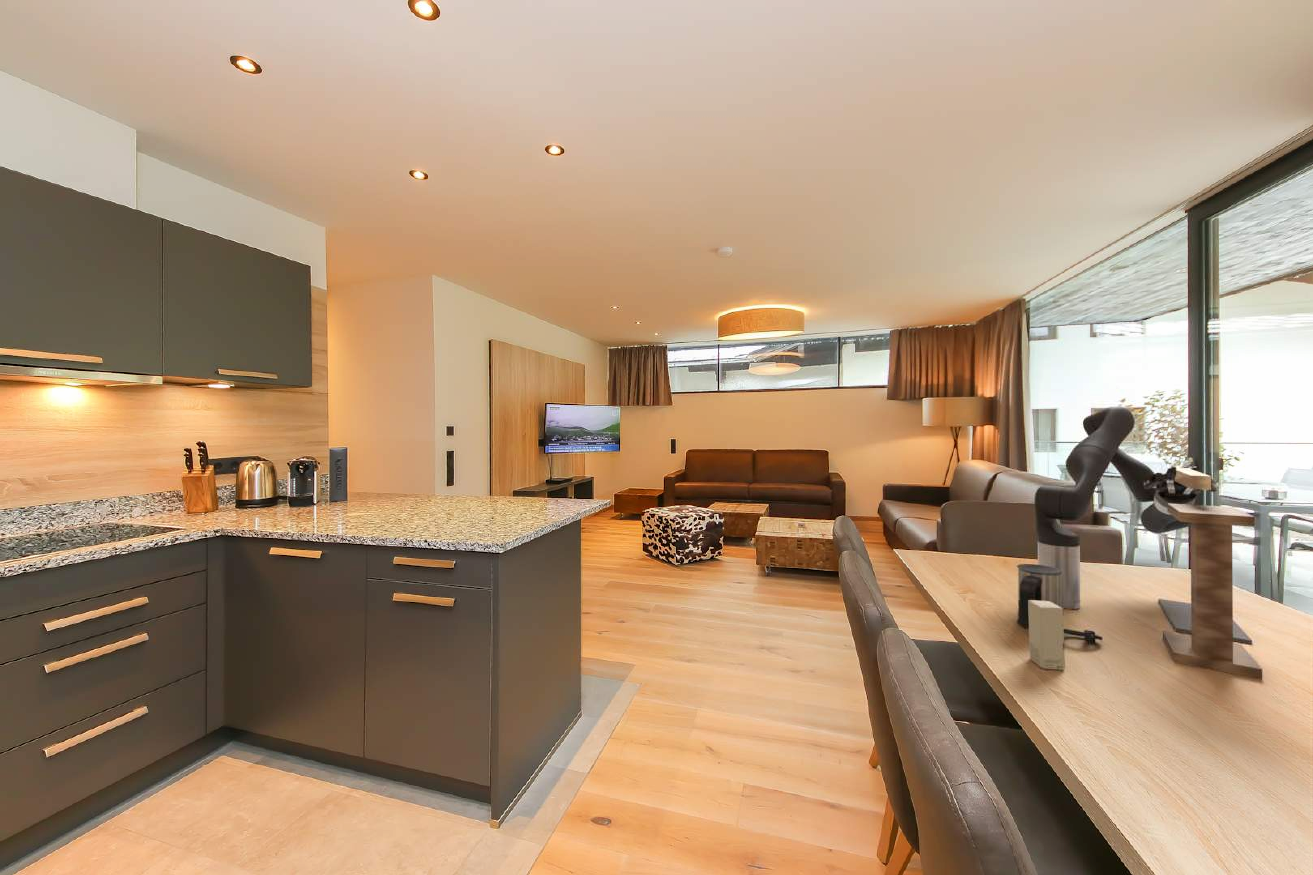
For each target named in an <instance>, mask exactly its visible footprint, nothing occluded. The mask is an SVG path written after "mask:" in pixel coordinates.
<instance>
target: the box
mask: <svg viewBox="0 0 1313 875" xmlns="http://www.w3.org/2000/svg"><path fill="white" fill-rule="evenodd" d="M1028 614H1029V629H1028V636H1029V637H1028V638H1029V639H1028V640H1029V659H1030V660H1031V661H1033V662H1034V663H1035V664H1036V665H1037V666H1038V667H1040V668H1041V669H1044V670H1057V671H1058V670H1059V671H1065V670H1066V666H1065V665H1066V663H1065V662H1066V661H1065V660H1066V659H1065V633H1064V629H1065V628H1064V608H1061V607H1059V606H1058V605H1056V604H1054V603H1052V602H1050V601H1037V600H1028Z"/></svg>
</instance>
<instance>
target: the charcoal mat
mask: <svg viewBox="0 0 1313 875" xmlns="http://www.w3.org/2000/svg"><path fill="white" fill-rule="evenodd" d="M1157 601H1158V603H1159V605H1160V607H1161V608H1162V610H1163V612H1164V614H1165V616H1166V617H1167V619H1168V620H1169V622H1170V624H1171V626H1172V627H1173V629H1174V630H1175V632H1179V633H1184V634H1191V602H1185V601H1178V600H1169V599H1165V598H1158V599H1157ZM1233 642H1237V643H1243V644H1249V645H1253V640H1252V638H1251V637H1250V636H1249V635H1248V634H1247V633H1246V632H1245V631H1244V630H1243V628H1241V627H1240V626H1239V625H1238V624H1237V622H1236V621H1235V620H1234V619H1233Z"/></svg>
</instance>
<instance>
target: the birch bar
mask: <svg viewBox="0 0 1313 875" xmlns="http://www.w3.org/2000/svg"><path fill="white" fill-rule="evenodd" d="M1191 469H1192V468H1185V467H1184V468H1183V467H1176V476H1175V479H1174V481H1176V482H1178V483H1180V484H1182V485H1184V486H1186V487H1188V488H1190V489H1207V490H1206V491H1209V490H1211V479H1212V476H1211V475H1208V474H1207V473H1203V472H1201V471H1200V472H1197V471H1194V470H1191ZM1206 474H1207V475H1206Z"/></svg>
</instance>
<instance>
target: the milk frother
mask: <svg viewBox="0 0 1313 875" xmlns="http://www.w3.org/2000/svg"><path fill="white" fill-rule="evenodd" d="M1016 568H1018V569H1017V570H1018V573H1017V574H1018V575H1017V576H1018V577H1017V578H1018V579H1017V580H1018V582H1017V584H1018V587H1017V589H1018V591H1017V594H1018V595H1017V596H1018V598H1017V599H1018V602H1017V604H1018V608H1017V609H1018V611H1017V620H1016V623H1017V624H1018V625H1019V626H1021V627H1023V628H1024V629H1028V630H1029V614H1028V600H1037V601H1050V602H1052V603H1054V604H1056V605H1058V606H1059V607H1061V573H1062V571H1061V570H1059V569H1057V568H1053V567H1049V566H1043V565H1038V564H1034V563H1020V564H1017V565H1016ZM1065 634H1066V635H1072V636H1077V637H1083V638H1084V641H1085V642H1087V643H1096V640H1099V641H1103V637H1102V636H1099V635H1096V632H1095V631H1094V630H1087V629H1085V630H1083V631H1079V630H1074V629H1068V628H1064V635H1065Z"/></svg>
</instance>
